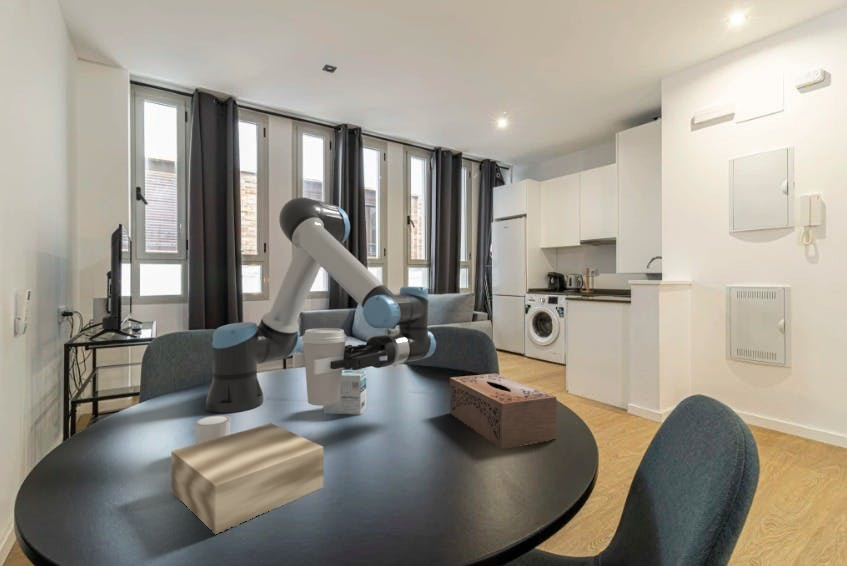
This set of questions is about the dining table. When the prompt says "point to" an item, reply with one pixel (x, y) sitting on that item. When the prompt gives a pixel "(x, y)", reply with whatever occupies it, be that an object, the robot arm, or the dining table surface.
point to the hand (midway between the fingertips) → (304, 364)
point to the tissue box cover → (503, 409)
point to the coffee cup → (322, 346)
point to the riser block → (245, 474)
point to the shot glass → (211, 428)
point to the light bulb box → (350, 394)
